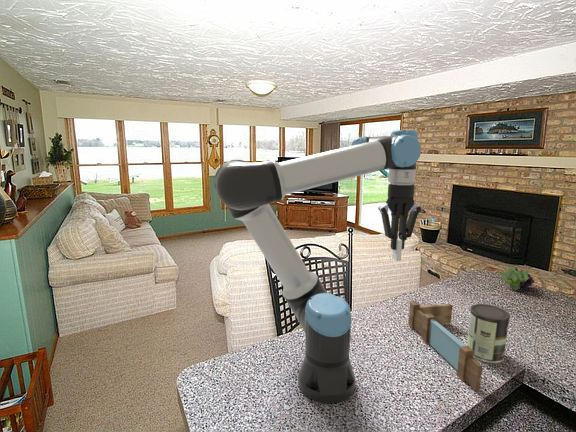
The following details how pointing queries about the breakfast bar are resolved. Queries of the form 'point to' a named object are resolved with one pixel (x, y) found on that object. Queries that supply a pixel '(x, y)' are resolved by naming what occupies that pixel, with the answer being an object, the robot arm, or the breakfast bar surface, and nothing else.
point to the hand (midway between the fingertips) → (396, 259)
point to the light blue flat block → (445, 343)
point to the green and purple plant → (517, 278)
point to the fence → (442, 314)
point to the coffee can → (488, 332)
